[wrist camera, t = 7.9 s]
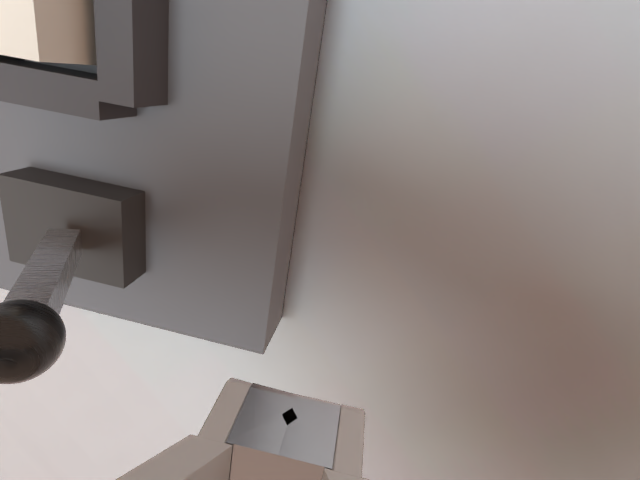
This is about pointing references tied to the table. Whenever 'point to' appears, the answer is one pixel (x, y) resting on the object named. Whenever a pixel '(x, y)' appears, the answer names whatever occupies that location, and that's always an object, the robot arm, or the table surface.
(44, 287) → the toggle lever
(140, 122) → the control panel
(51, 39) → the cream button
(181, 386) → the table surface
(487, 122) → the table surface
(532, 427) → the table surface
